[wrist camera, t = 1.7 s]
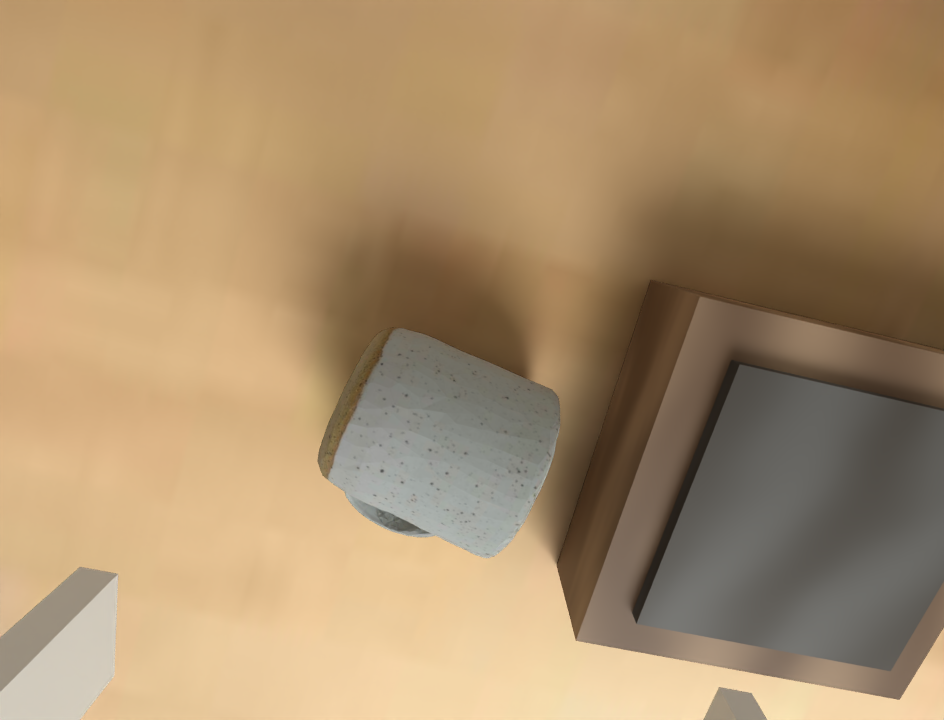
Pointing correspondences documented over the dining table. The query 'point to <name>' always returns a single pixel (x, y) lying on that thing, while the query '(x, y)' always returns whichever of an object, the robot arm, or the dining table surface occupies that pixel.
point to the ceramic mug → (440, 442)
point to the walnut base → (765, 498)
